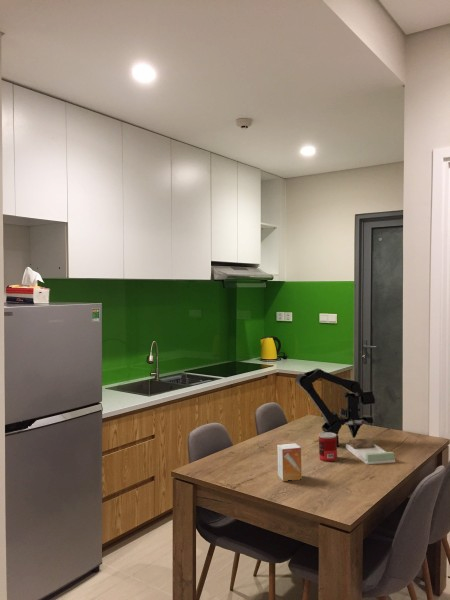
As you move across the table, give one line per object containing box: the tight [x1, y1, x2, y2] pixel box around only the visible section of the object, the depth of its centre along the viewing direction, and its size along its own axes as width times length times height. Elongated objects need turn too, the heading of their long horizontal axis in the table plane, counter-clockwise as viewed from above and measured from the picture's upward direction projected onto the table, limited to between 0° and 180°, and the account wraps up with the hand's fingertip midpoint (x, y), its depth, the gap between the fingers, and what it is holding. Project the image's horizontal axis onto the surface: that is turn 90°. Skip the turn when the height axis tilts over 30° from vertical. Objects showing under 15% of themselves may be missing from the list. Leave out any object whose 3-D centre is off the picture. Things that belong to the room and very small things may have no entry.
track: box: [345, 443, 396, 465], centre depth 230 cm, size 13×24×4 cm, turn 8°
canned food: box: [318, 431, 338, 463], centre depth 225 cm, size 8×8×11 cm
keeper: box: [348, 438, 375, 449], centre depth 238 cm, size 10×4×3 cm, turn 98°
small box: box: [276, 443, 303, 482], centre depth 203 cm, size 8×6×13 cm
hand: (353, 437), depth 247 cm, fingers closed
